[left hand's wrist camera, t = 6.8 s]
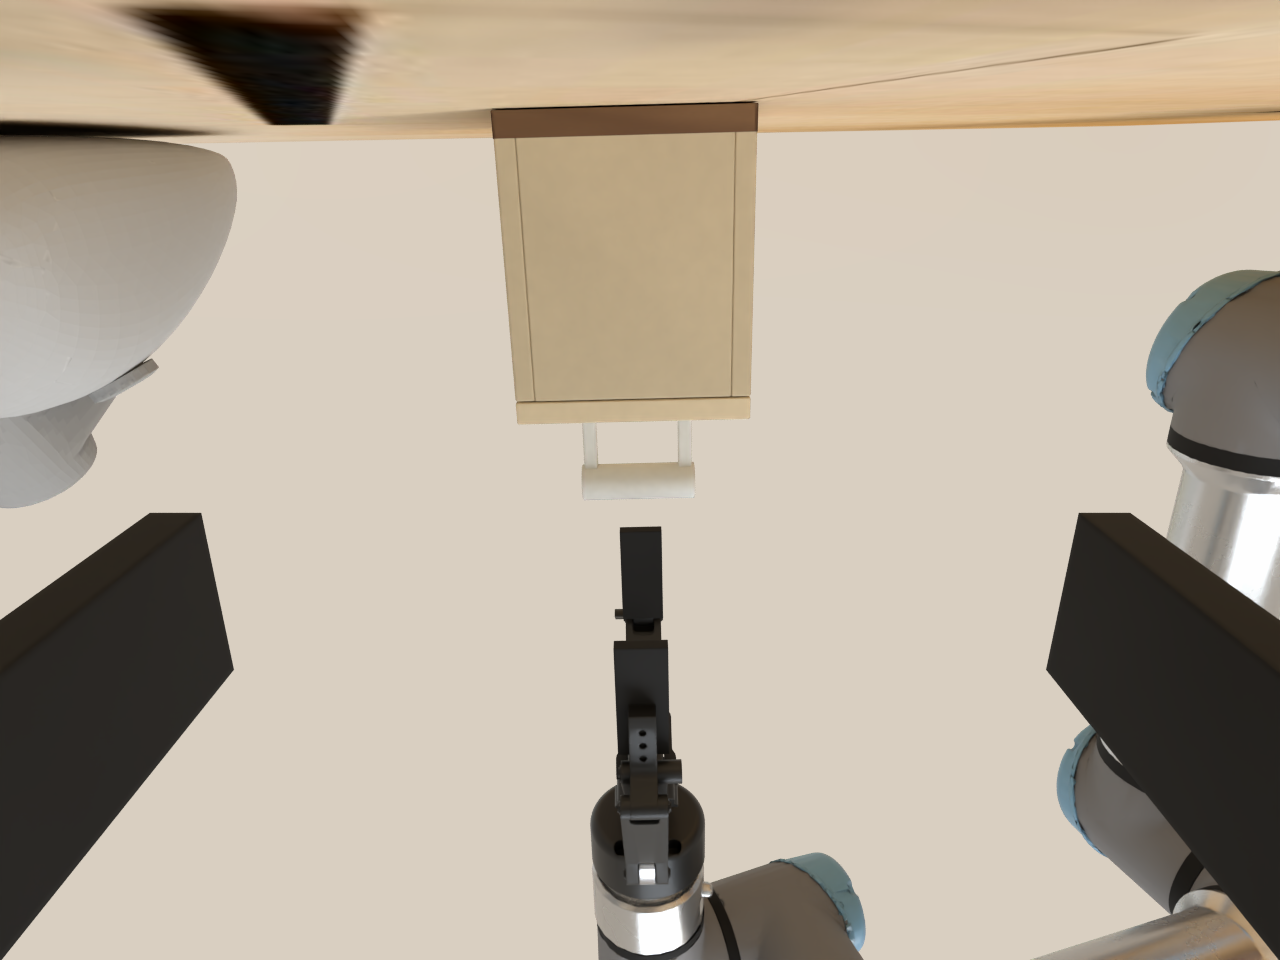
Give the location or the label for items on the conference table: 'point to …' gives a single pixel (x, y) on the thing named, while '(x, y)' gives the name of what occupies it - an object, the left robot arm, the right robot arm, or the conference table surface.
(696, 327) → the chest
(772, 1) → the conference table surface
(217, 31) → the conference table surface
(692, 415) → the lid
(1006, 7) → the conference table surface
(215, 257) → the projector
